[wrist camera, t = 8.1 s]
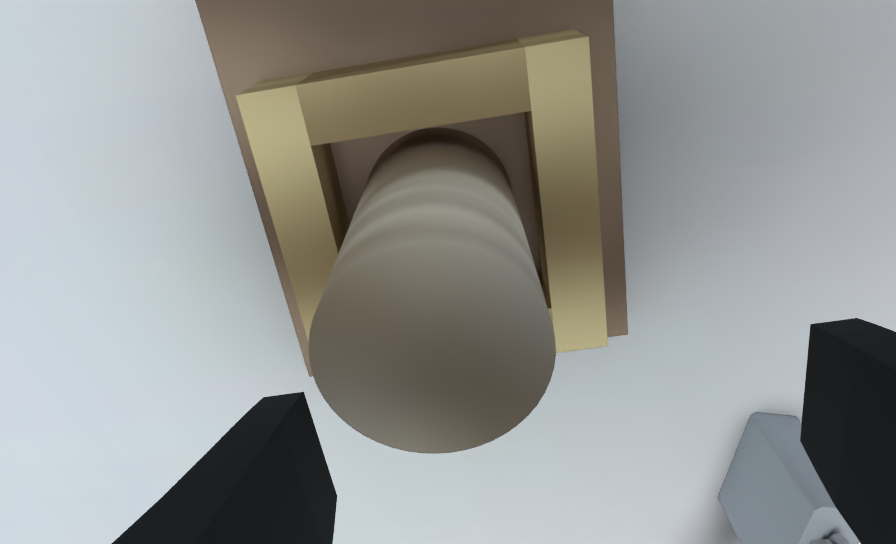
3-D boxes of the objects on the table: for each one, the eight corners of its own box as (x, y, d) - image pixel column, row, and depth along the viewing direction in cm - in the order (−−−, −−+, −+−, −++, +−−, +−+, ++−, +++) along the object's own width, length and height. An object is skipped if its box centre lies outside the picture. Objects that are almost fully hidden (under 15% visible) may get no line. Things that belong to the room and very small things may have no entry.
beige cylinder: (421, 96, 16) (399, 190, 9) (541, 184, 17) (607, 332, 10) (339, 215, 18) (263, 379, 10) (454, 290, 19) (457, 488, 11)
